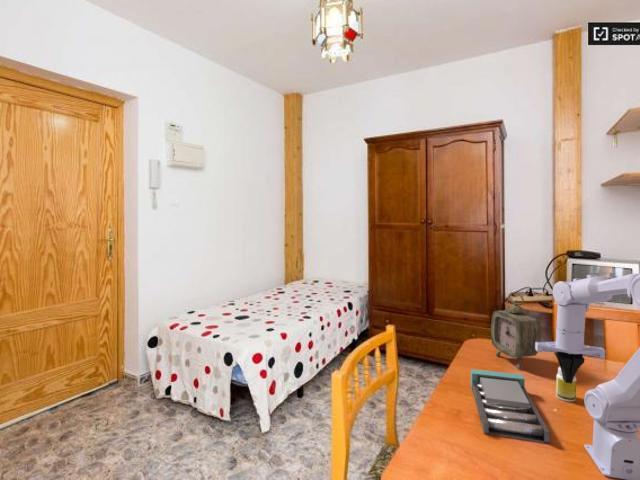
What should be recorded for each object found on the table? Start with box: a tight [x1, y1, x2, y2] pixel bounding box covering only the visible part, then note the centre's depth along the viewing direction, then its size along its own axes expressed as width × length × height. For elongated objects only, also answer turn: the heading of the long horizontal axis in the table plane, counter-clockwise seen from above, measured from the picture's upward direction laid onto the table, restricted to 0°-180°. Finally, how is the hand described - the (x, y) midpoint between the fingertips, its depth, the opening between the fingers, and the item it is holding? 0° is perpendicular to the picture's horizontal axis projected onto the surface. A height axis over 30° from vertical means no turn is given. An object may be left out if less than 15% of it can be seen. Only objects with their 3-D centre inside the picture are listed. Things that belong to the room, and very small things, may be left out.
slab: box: [480, 377, 529, 409], centre depth 97 cm, size 12×10×1 cm
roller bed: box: [471, 381, 551, 444], centre depth 93 cm, size 22×14×3 cm, turn 163°
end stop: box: [470, 368, 526, 389], centre depth 105 cm, size 4×14×5 cm, turn 73°
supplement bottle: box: [555, 366, 577, 402], centre depth 100 cm, size 5×5×8 cm
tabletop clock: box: [490, 291, 542, 370], centre depth 124 cm, size 14×9×25 cm, turn 10°
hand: (567, 381), depth 89 cm, fingers closed
